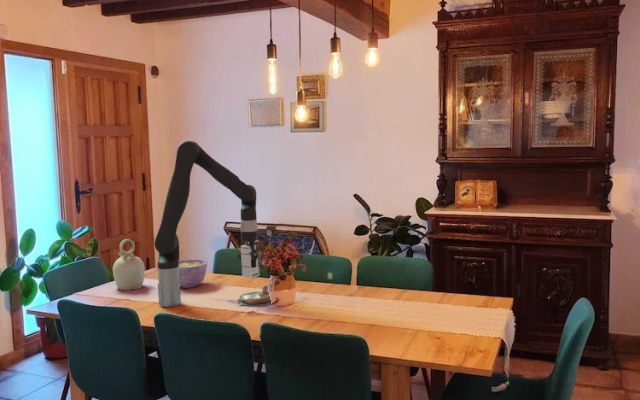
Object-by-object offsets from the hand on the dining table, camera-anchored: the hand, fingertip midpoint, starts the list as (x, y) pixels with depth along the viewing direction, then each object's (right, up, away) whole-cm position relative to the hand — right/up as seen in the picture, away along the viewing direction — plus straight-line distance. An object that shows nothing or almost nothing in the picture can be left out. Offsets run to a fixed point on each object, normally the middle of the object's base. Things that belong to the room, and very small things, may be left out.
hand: (250, 265), depth 271 cm
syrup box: (0, -5, 0) cm, 5 cm away
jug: (-66, -15, +36) cm, 76 cm away
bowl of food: (-36, -14, +36) cm, 53 cm away
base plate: (+3, -16, +4) cm, 17 cm away
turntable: (+3, -16, +4) cm, 17 cm away
